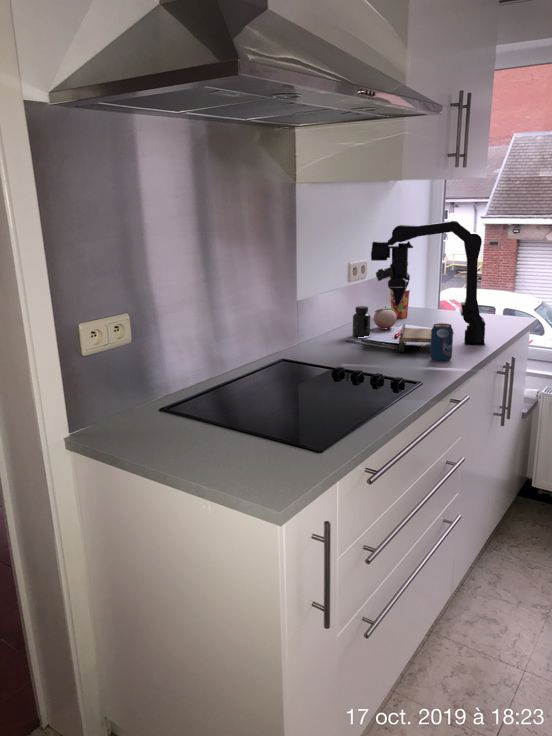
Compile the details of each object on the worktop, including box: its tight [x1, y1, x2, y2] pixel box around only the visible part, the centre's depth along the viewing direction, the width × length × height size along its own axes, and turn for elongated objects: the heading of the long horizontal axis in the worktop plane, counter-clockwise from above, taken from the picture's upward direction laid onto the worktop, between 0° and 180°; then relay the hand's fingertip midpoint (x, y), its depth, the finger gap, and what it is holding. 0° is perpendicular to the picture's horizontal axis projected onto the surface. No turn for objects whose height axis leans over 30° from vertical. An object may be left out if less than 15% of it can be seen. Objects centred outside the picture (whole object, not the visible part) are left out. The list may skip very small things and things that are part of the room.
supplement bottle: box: [352, 305, 371, 339], centre depth 240 cm, size 7×7×12 cm
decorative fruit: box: [373, 305, 397, 329], centre depth 251 cm, size 9×8×10 cm
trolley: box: [398, 323, 432, 353], centre depth 222 cm, size 13×17×7 cm
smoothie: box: [389, 285, 411, 320], centre depth 269 cm, size 8×8×20 cm
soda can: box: [429, 323, 454, 363], centre depth 205 cm, size 7×7×12 cm
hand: (398, 302), depth 230 cm, fingers open, 9 cm apart
